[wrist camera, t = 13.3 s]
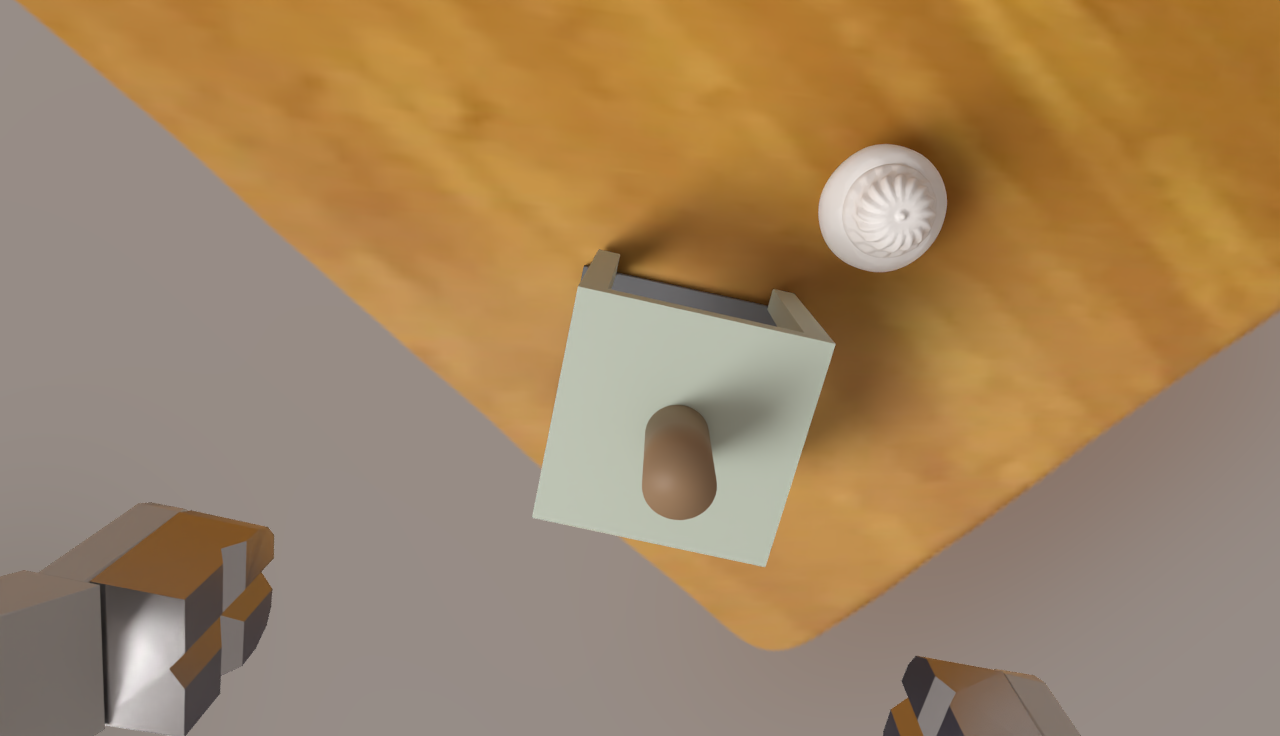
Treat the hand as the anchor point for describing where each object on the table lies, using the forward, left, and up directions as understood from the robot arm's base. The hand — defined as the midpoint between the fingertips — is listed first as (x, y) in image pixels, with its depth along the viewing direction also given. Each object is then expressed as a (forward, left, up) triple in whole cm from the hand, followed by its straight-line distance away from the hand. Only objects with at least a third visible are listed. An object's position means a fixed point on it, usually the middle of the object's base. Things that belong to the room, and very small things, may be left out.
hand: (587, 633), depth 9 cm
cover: (-3, +6, -32) cm, 33 cm away
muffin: (-11, -5, -33) cm, 35 cm away
